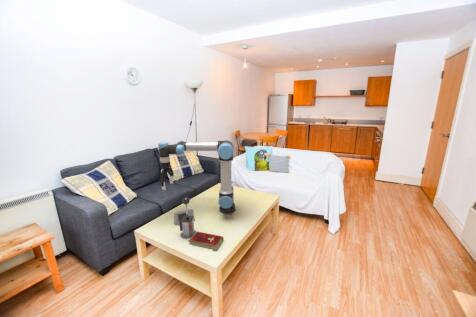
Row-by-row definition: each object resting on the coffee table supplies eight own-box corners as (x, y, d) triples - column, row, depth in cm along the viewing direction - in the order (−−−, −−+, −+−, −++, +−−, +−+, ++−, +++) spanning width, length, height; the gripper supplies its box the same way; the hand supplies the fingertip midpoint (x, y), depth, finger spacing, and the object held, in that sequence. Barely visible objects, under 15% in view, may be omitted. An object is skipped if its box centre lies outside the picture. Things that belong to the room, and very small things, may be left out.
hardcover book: (197, 235, 162) (197, 230, 161) (223, 241, 156) (223, 235, 155) (188, 245, 151) (188, 240, 150) (216, 251, 145) (216, 246, 144)
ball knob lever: (191, 220, 162) (190, 196, 157) (190, 223, 157) (188, 199, 152) (185, 220, 162) (183, 196, 157) (183, 223, 157) (181, 199, 152)
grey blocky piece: (195, 230, 166) (194, 215, 163) (192, 237, 158) (191, 221, 155) (182, 230, 167) (181, 215, 163) (179, 237, 159) (177, 221, 155)
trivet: (198, 230, 168) (198, 229, 168) (194, 240, 156) (194, 239, 156) (183, 230, 169) (183, 229, 168) (178, 239, 157) (178, 238, 157)
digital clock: (174, 226, 174) (173, 214, 171) (174, 220, 182) (173, 209, 180) (195, 223, 177) (194, 212, 174) (194, 218, 186) (193, 206, 183)
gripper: (168, 157, 187) (170, 180, 193) (152, 166, 164) (155, 192, 169) (176, 157, 186) (178, 181, 191) (161, 166, 162) (164, 192, 168)
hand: (167, 186), depth 180 cm, fingers open, 13 cm apart
